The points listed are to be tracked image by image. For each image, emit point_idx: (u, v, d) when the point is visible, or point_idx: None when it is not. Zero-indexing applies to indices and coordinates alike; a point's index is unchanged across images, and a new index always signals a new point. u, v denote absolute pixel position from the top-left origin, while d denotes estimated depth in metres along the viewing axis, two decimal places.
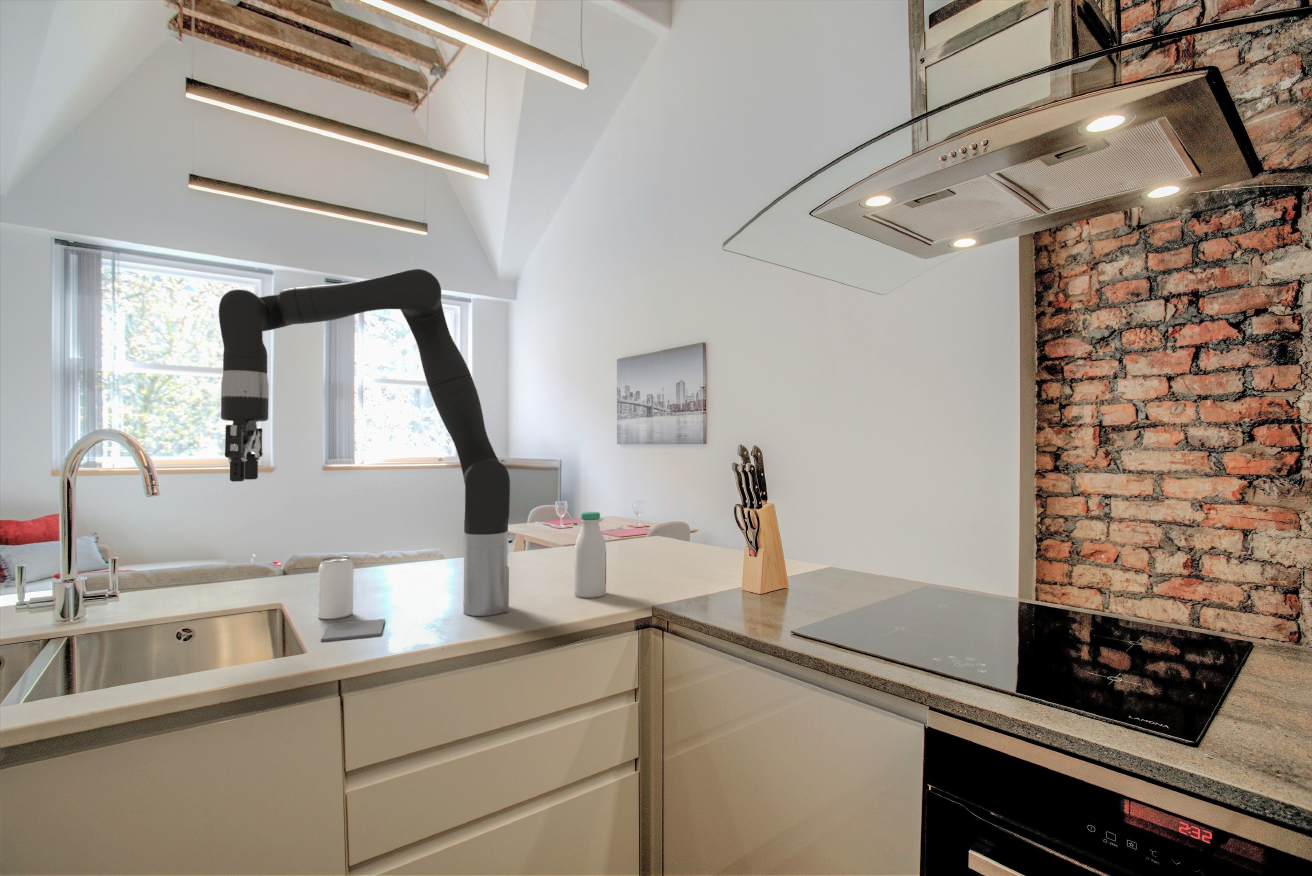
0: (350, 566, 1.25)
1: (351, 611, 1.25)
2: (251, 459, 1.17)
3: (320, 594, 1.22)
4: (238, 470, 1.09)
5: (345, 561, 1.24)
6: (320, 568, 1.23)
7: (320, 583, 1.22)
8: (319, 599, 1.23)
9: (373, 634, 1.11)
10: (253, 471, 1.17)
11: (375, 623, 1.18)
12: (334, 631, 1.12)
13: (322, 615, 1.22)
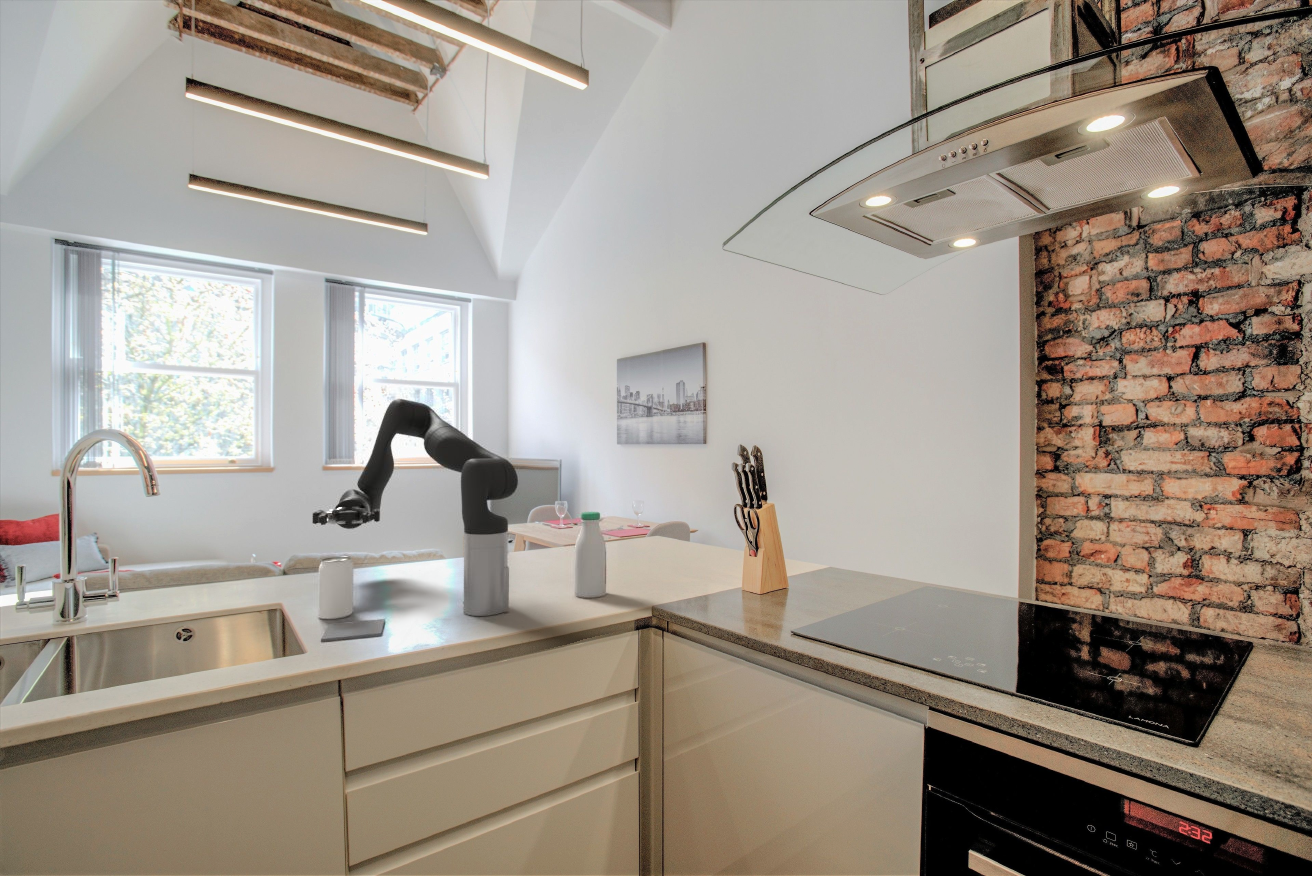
0: (350, 566, 1.25)
1: (351, 611, 1.25)
2: None
3: (320, 594, 1.22)
4: None
5: (345, 561, 1.24)
6: (320, 568, 1.23)
7: (320, 583, 1.22)
8: (319, 599, 1.23)
9: (373, 634, 1.11)
10: None
11: (375, 623, 1.18)
12: (334, 631, 1.12)
13: (322, 615, 1.22)
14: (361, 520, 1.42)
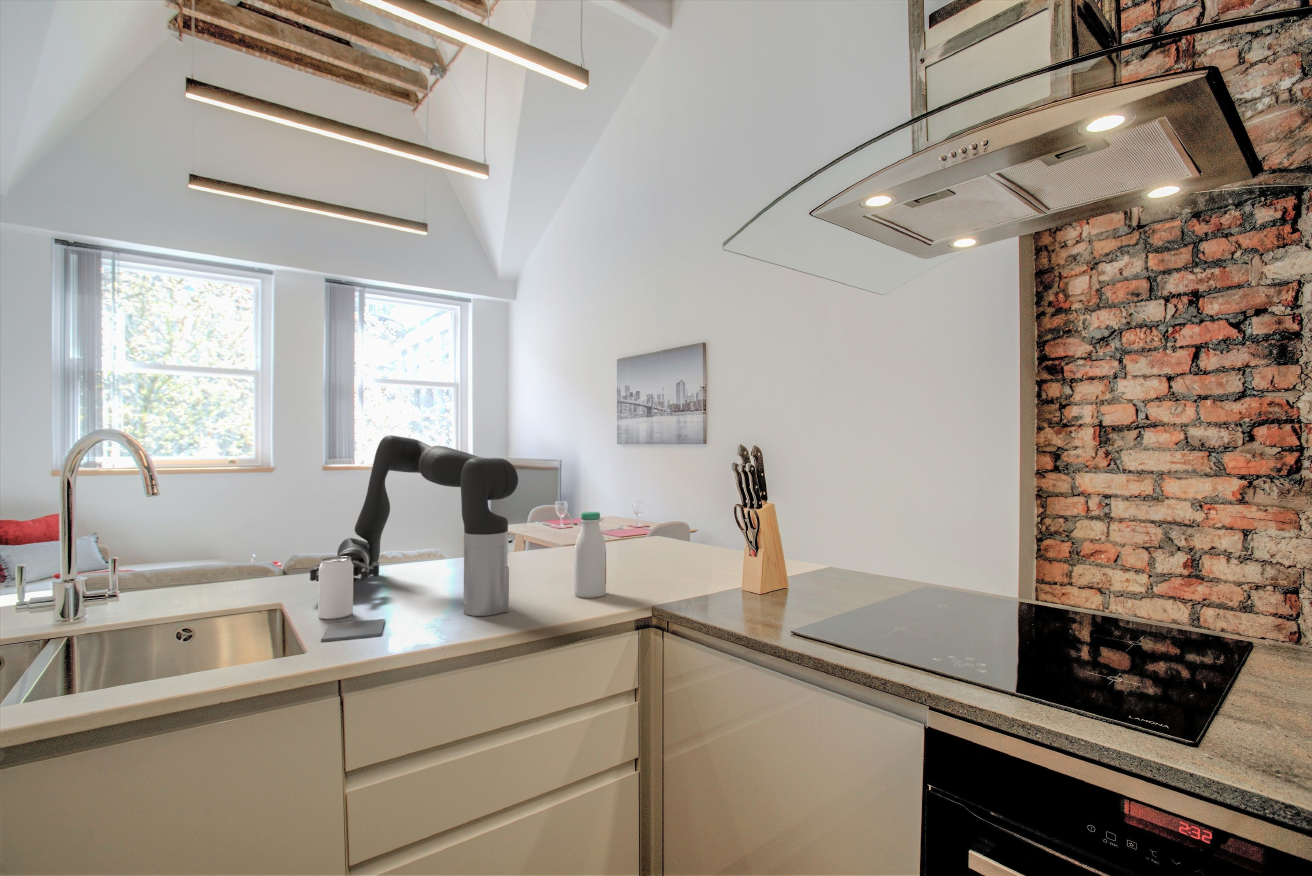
0: (350, 566, 1.25)
1: (351, 611, 1.25)
2: None
3: (320, 594, 1.22)
4: None
5: (345, 561, 1.24)
6: (320, 568, 1.23)
7: (320, 583, 1.22)
8: (319, 599, 1.23)
9: (373, 634, 1.11)
10: None
11: (375, 623, 1.18)
12: (334, 631, 1.12)
13: (322, 615, 1.22)
14: (360, 575, 1.39)
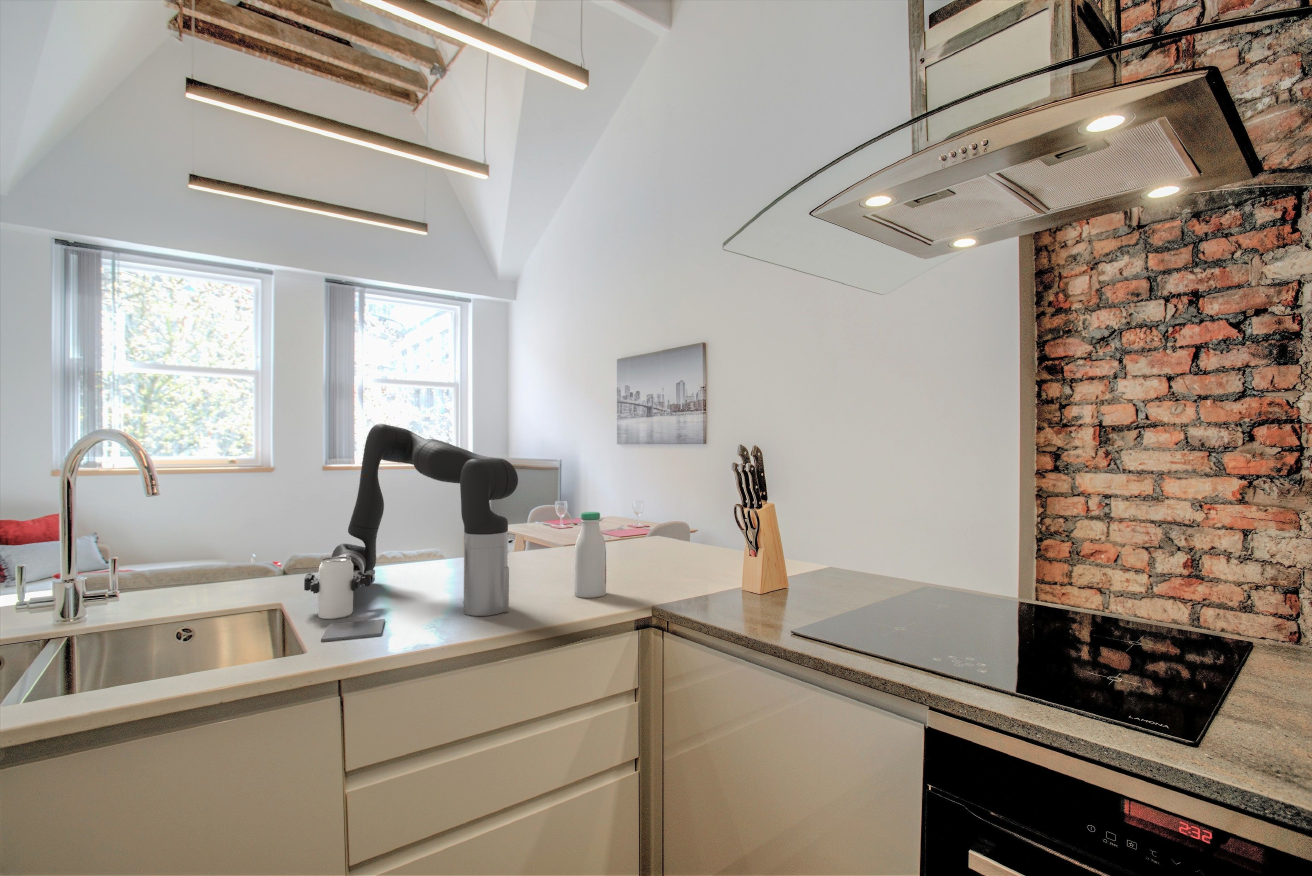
0: (350, 566, 1.25)
1: (351, 611, 1.25)
2: None
3: (320, 594, 1.22)
4: None
5: (345, 561, 1.24)
6: (320, 568, 1.23)
7: (320, 583, 1.22)
8: (319, 599, 1.23)
9: (373, 634, 1.11)
10: None
11: (375, 623, 1.18)
12: (334, 631, 1.12)
13: (323, 615, 1.22)
14: None
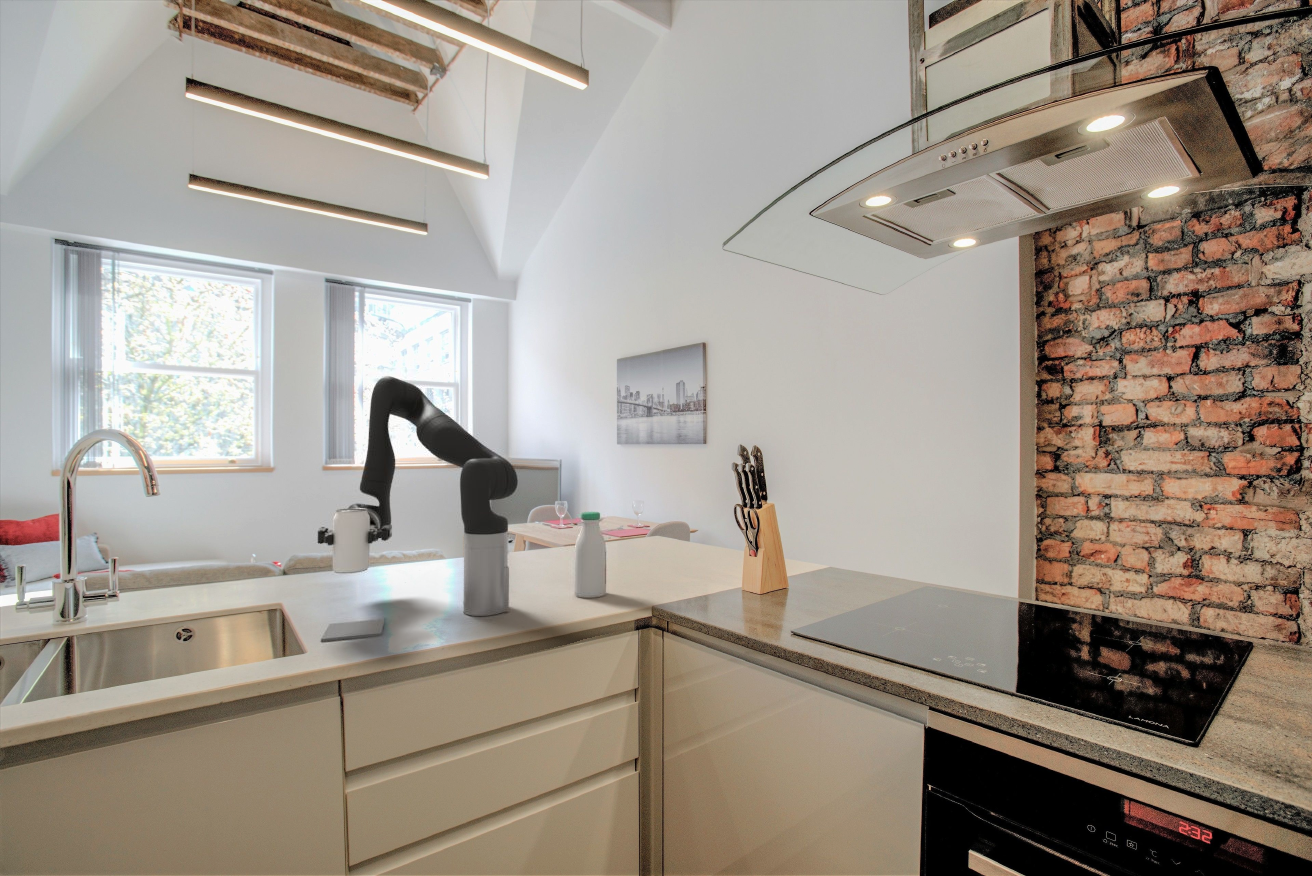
0: (366, 517, 1.17)
1: (367, 565, 1.18)
2: None
3: (335, 546, 1.15)
4: None
5: (361, 512, 1.16)
6: (334, 519, 1.15)
7: (335, 534, 1.15)
8: (334, 552, 1.15)
9: (373, 634, 1.11)
10: None
11: (375, 623, 1.18)
12: (334, 631, 1.12)
13: (337, 568, 1.14)
14: None
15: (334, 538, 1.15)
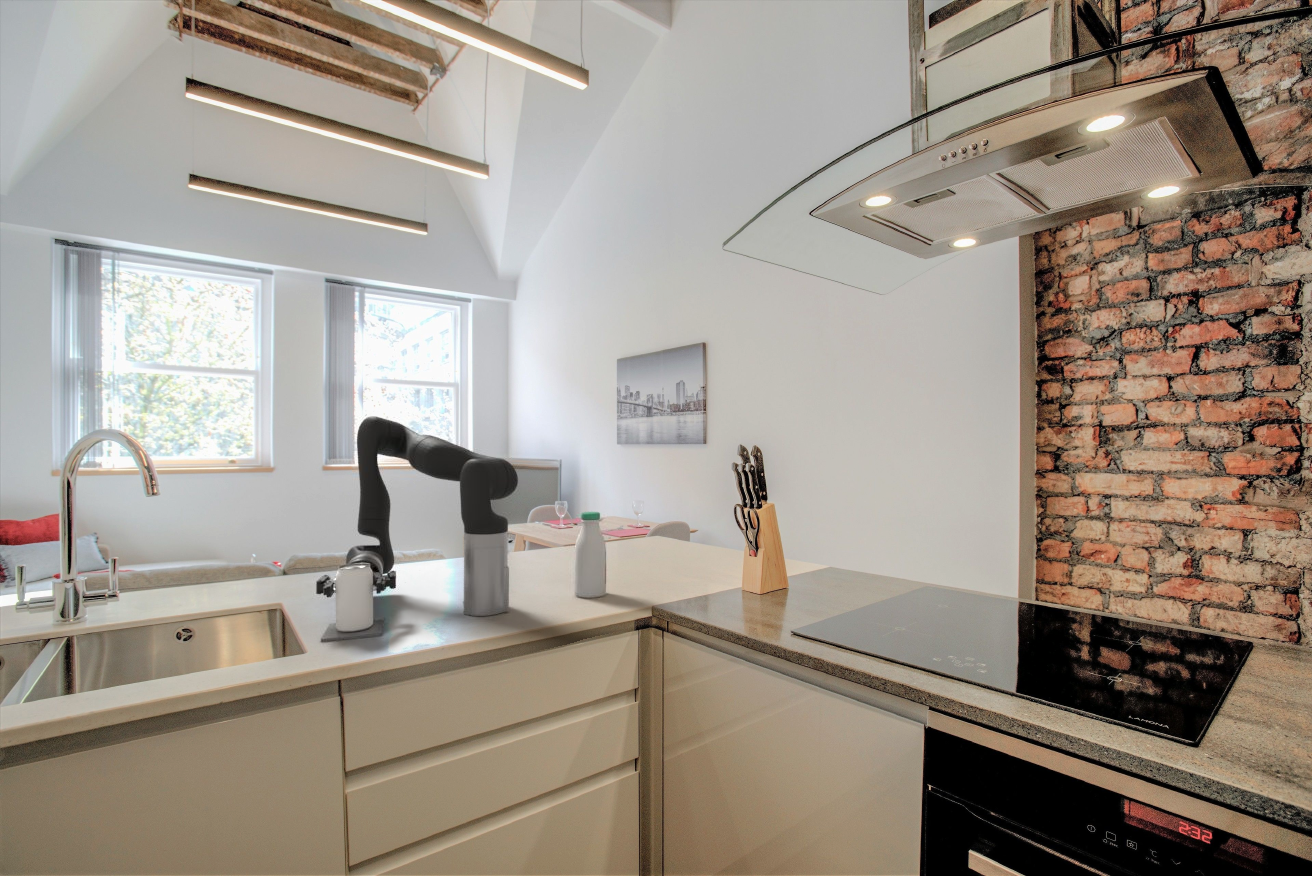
0: (369, 573, 1.15)
1: (371, 622, 1.15)
2: None
3: (338, 604, 1.12)
4: None
5: (364, 568, 1.14)
6: (337, 576, 1.13)
7: (337, 592, 1.12)
8: (337, 610, 1.13)
9: (373, 634, 1.11)
10: None
11: (375, 623, 1.18)
12: (334, 631, 1.12)
13: (341, 627, 1.12)
14: (374, 587, 1.19)
15: (337, 596, 1.12)
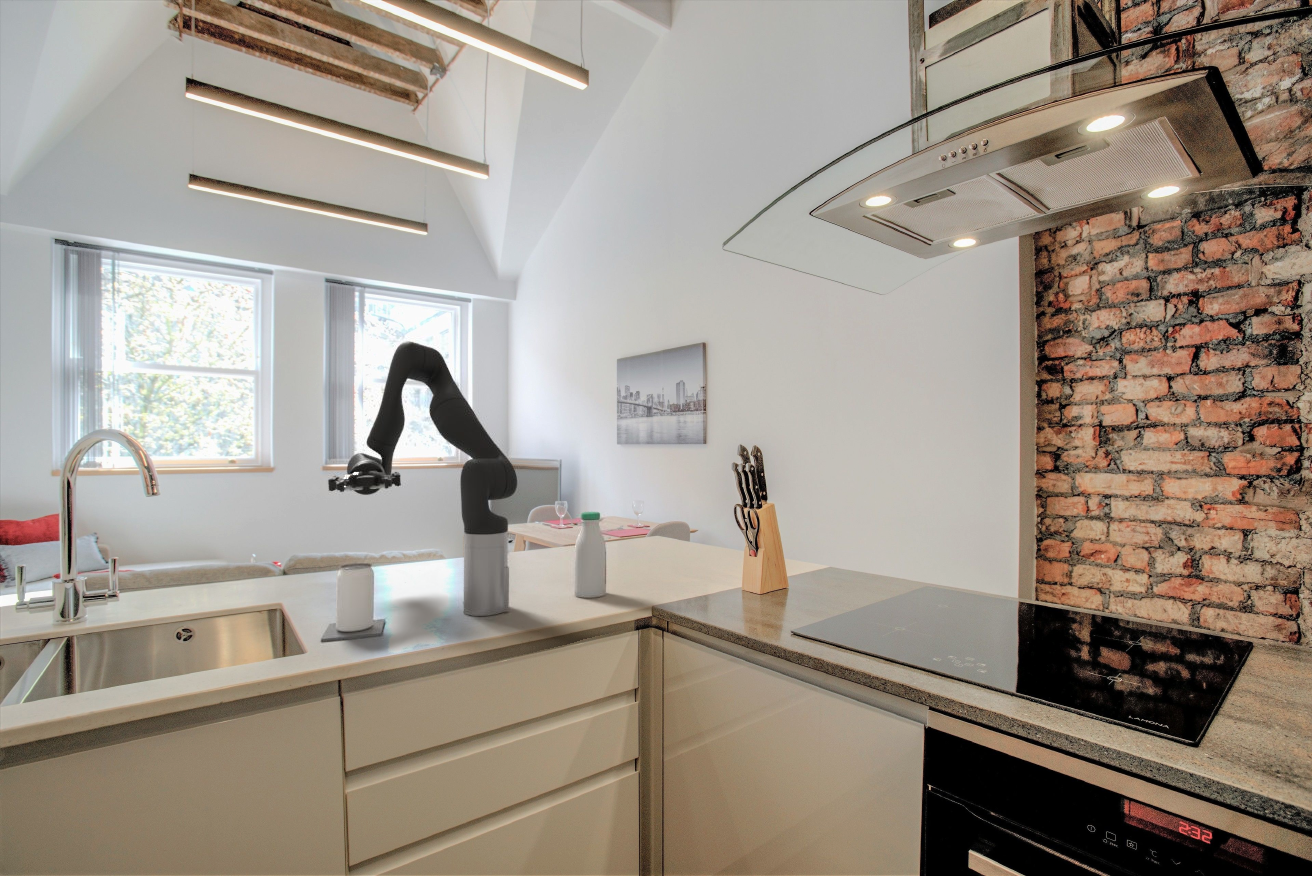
0: (370, 574, 1.15)
1: (371, 623, 1.15)
2: None
3: (338, 604, 1.12)
4: None
5: (365, 568, 1.14)
6: (338, 576, 1.13)
7: (338, 592, 1.12)
8: (337, 610, 1.13)
9: (373, 634, 1.11)
10: None
11: (375, 623, 1.18)
12: (334, 631, 1.12)
13: (341, 627, 1.12)
14: (381, 485, 1.31)
15: (338, 596, 1.13)
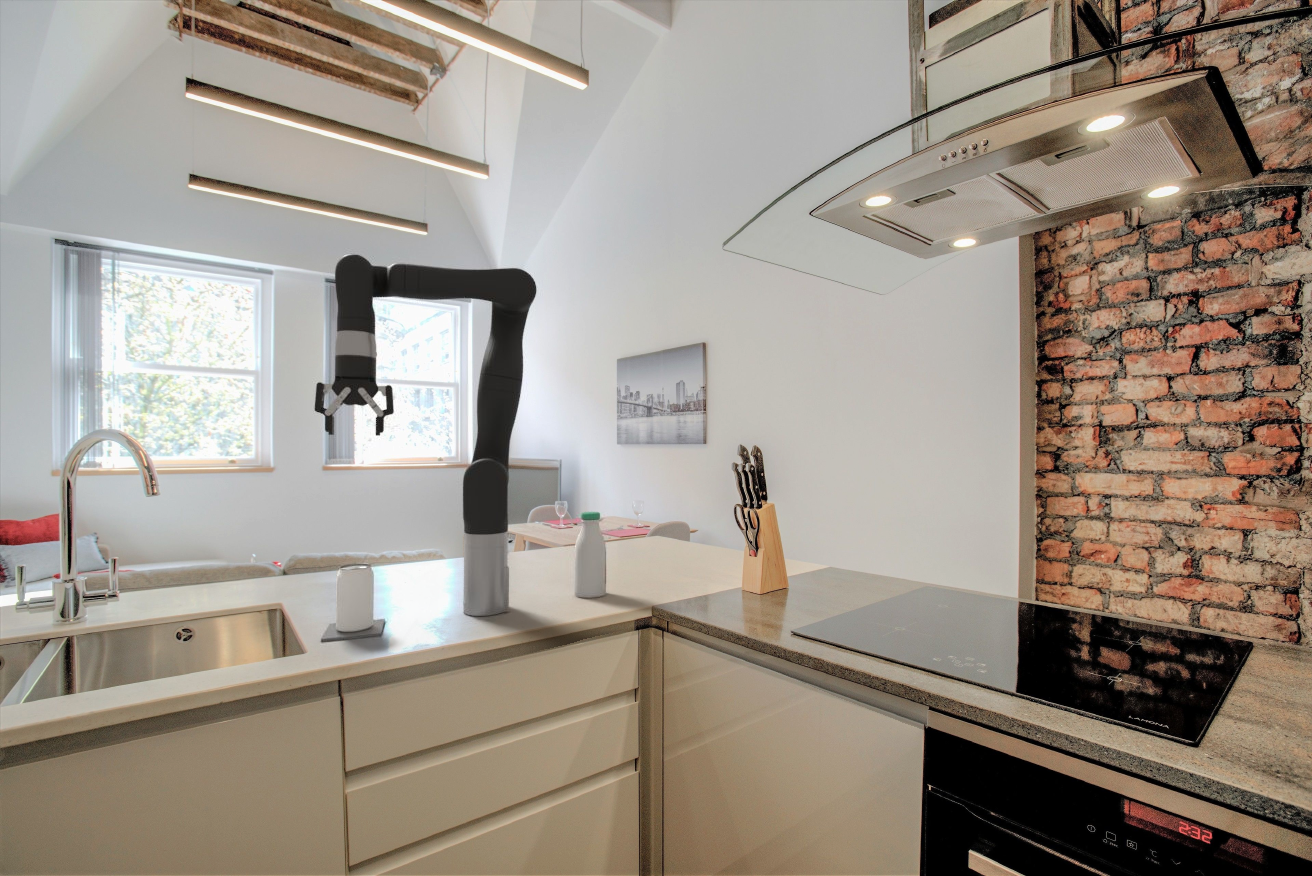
0: (370, 574, 1.14)
1: (371, 623, 1.15)
2: (377, 416, 1.22)
3: (338, 605, 1.12)
4: None
5: (365, 569, 1.14)
6: (338, 577, 1.13)
7: (338, 593, 1.12)
8: (337, 610, 1.13)
9: (373, 634, 1.11)
10: None
11: (375, 623, 1.18)
12: (334, 631, 1.12)
13: (341, 627, 1.12)
14: None
15: (337, 596, 1.13)
